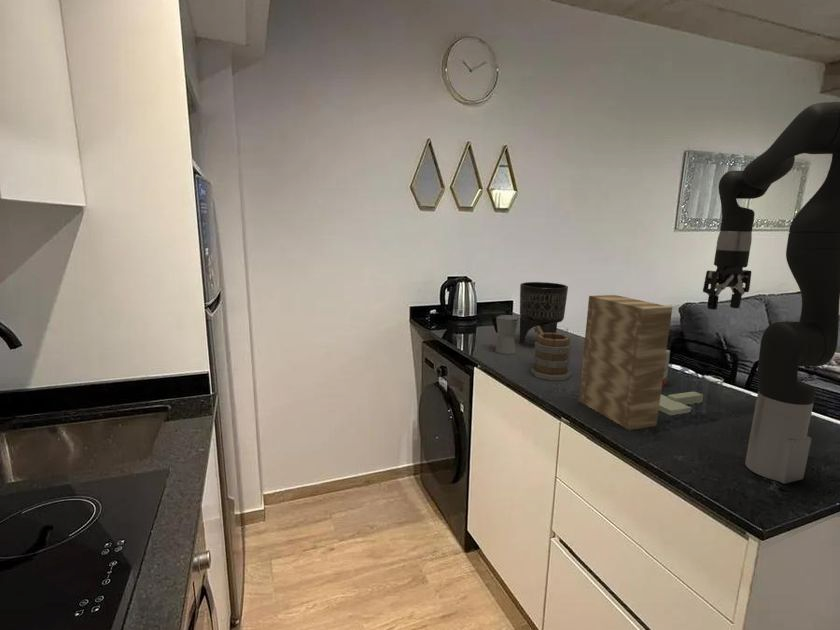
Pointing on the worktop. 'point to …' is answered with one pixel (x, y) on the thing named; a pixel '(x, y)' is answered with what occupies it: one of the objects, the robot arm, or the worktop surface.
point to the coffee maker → (505, 332)
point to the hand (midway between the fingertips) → (723, 308)
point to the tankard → (551, 356)
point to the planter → (541, 306)
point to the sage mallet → (679, 402)
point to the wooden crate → (625, 359)
